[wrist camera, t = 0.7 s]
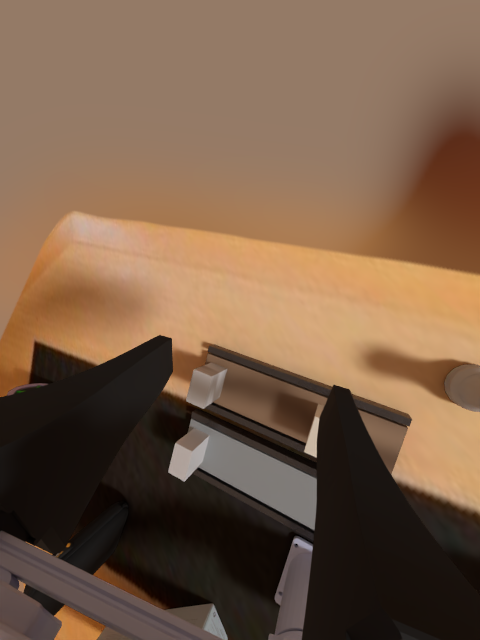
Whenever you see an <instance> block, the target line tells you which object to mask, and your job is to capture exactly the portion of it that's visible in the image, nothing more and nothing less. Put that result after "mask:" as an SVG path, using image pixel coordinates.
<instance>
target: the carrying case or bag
mask: <svg viewBox="0 0 480 640" xmlns="http://www.w3.org/2000/svg"><path fill="white" fill-rule="evenodd" d="M127 516H128V505H127V503H126V502H124V501H122V502H117V503H114V504H113V505H111V506H110V507H109V508H107V509H106V510H105V511H104V512H103V513H101V514H100V515H99V516H98V517H97V518H95V519H94V520H93V521H92V522H91V523H89V524H88V525H87V526H86V527H85V528H83V529H82V530H81V531H80V532H79V533H77V534H76V535H75V536H74V537H73V538H71V539H70V540H69V542H68V544H67V546H66V548H64V549H63V550H61V551H59V552H57V553H54V554H53V556H55V557H57V558H59V559H61V560H63V561H65V562H67V563H69V564H71V565H73V566H75V567H77V568H79V569H81V570H83V571H85V572H87V573H89V574H91V575H93V574H94V573H95V572H96V571H97V570H98V569H99V568H100V567H101V566H102V564H103V563H104V562H105V561H106V560H107V559H108V558H109V557H110V556H111V555H112V553H113V552H114V551H115V549H116V547H117V545H118V542H119V539H120V537H121V534H122V531H123V528H124V525H125V522H126V519H127ZM24 594H26V595H27V596H29V597H31V598H32V599H34V600H36V601H37V602H39V603H40V604H41V605H42V606H43V608H44V609H46V610H47V611H48V612H49V613H50V614H52V615H53V616H54V615H55V614H56V613H57V612H58V611H59V610H60V609H61V608H62V607H63V606H64V605H65V604H63V603H61V602H59V601H57V600H55V599H53V598H52V597H50V596H48V595H46V594H44V593H42V592H40V591H38V590H36V589H34V588H33V587H31V586H29V585H27V584H26V586H25V589H24Z"/></svg>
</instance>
